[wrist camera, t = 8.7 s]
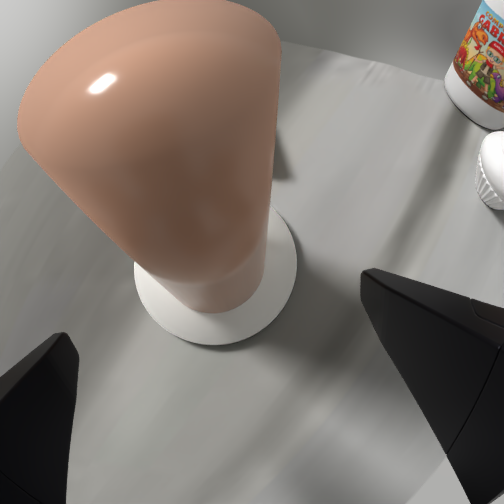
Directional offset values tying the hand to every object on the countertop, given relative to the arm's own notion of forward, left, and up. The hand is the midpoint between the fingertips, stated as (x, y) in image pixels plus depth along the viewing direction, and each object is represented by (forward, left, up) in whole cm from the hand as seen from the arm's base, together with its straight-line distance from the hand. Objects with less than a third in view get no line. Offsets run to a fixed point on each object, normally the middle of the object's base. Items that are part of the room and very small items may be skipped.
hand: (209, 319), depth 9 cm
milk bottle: (+30, -4, -8) cm, 32 cm away
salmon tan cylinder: (+2, +3, -8) cm, 9 cm away
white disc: (+2, +4, -8) cm, 9 cm away
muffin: (+20, -8, -8) cm, 23 cm away
